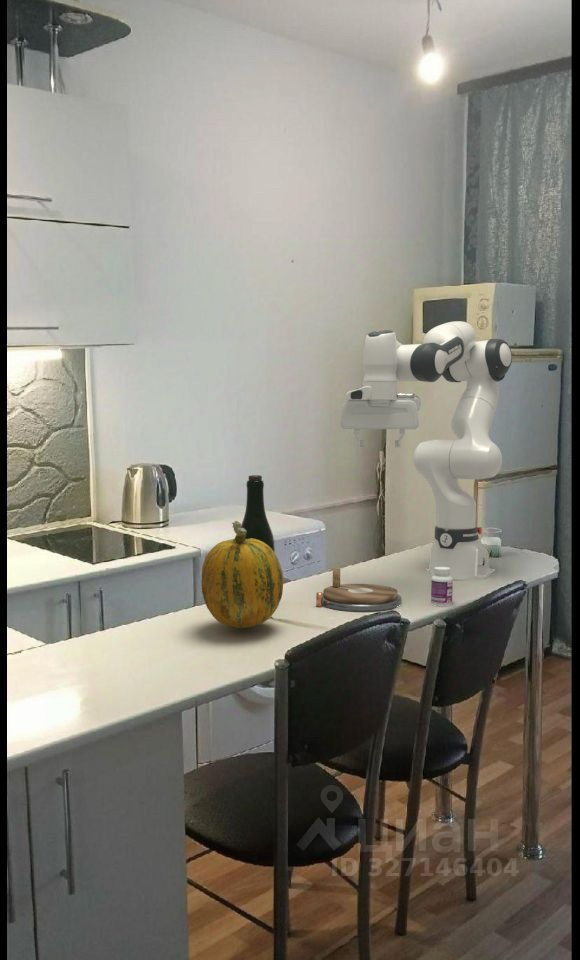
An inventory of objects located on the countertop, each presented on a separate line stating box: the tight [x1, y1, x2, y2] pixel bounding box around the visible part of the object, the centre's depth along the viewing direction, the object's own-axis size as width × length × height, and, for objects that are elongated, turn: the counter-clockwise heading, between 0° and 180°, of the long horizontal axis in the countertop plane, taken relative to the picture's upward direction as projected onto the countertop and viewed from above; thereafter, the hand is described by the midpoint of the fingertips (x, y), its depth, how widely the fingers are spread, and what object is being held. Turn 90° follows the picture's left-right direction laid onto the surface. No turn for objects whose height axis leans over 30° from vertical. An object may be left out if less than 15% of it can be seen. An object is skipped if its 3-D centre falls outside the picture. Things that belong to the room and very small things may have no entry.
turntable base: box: [315, 591, 403, 613], centre depth 238 cm, size 21×21×4 cm
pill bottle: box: [430, 567, 454, 608], centre depth 235 cm, size 5×5×10 cm
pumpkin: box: [200, 520, 284, 629], centre depth 214 cm, size 19×19×25 cm
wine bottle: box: [241, 474, 276, 554], centre depth 235 cm, size 10×10×33 cm
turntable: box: [322, 567, 399, 605], centre depth 238 cm, size 19×19×6 cm
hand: (379, 446), depth 241 cm, fingers open, 8 cm apart
